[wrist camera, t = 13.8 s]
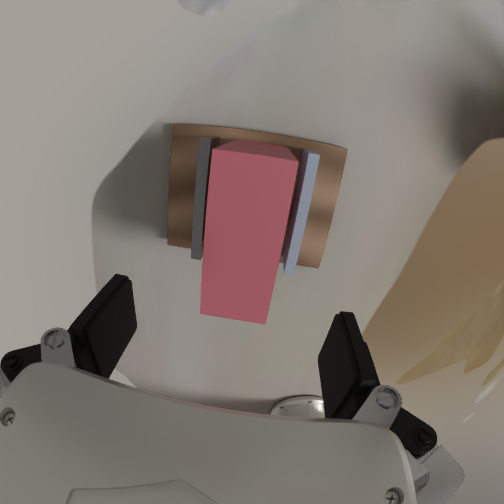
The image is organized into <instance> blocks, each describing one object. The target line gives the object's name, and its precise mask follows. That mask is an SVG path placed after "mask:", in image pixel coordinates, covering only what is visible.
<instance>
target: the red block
mask: <svg viewBox="0 0 504 504" xmlns="http://www.w3.org/2000/svg"><path fill="white" fill-rule="evenodd" d="M298 163H299V161H298V160H297V159H296V157H295V156H294V155H293V154H292V152H291V151H290V150H289V149H288V147H286V146H281V145H275V144H268V143H262V142H255V141H248V140H240V139H236V140H234V141H231V142H229V143H226V144H224V145H221V146H219V147H216V148H214V149H212V158H211V167H210V177H209V187H208V198H207V209H206V221H205V234H204V248H203V265H202V283H201V306H200V314H206V315H211V316H217V317H223V318H229V319H235V320H241V321H248V322H255V323H262V324H265V323H266V319H267V314H268V310H269V305H270V301H271V297H272V292H273V288H274V283H275V278H276V274H277V269H278V264H279V260H280V255H281V250H282V245H283V241H284V236H285V231H286V226H287V221H288V216H289V211H290V206H291V201H292V195H293V190H294V185H295V180H296V174H297V169H298Z"/></svg>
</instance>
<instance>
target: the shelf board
mask: <svg viewBox="0 0 504 504" xmlns="http://www.w3.org/2000/svg"><path fill="white" fill-rule="evenodd" d="M205 136H219V145H218V147H219V146H221V145H224V144H226V143H229V142H231V141H234V140H236V139H240V140H248V141H255V142H262V143H268V144H275V145H281V146H286V147H288V149H289V150H290V151H291V152H292V154H293V155H294V156H295V157H296V159H297V160H298V161H299V163H298V169H297V174H296V180H295V185H294V190H293V195H292V201H291V206H290V211H289V216H288V221H287V226H286V231H285V236H284V241H283V245H282V250H281V255H280V260H279V262H281V263H283V252H284V247H285V242H286V237H287V232H288V228H289V223H290V218H291V213H292V208H293V203H294V198H295V192H296V187H297V182H298V177H299V171H300V166H301V161H302V155H303V149H306V150H311V151H314V152H316V153H317V154H319V155H320V158H319V163H318V169H317V174H316V179H315V183H314V188H313V193H312V198H311V203H310V207H309V212H308V216H307V221H306V225H305V230H304V234H303V238H302V243H301V247H300V251H299V255H298V259H297V263H296V265H300V266H307V267H314V268H319V265H320V262H321V258H322V254H323V251H324V247H325V244H326V240H327V236H328V232H329V228H330V225H331V221H332V217H333V213H334V209H335V204H336V200H337V196H338V192H339V187H340V183H341V179H342V174H343V169H344V165H345V160H346V155H347V150H348V149H346V148H343V147H338V146H334V145H330V144H326V143H321V142H316V141H312V140H307V139H302V138H296V137H291V136H285V135H280V134H273V133H267V132H260V131H253V130H245V129H237V128H228V127H218V126H207V125H193V124H174V127H173V138H172V149H171V162H170V178H169V198H168V245H172V246H178V247H185V248H191V249H192V229H193V212H194V198H195V185H196V173H197V162H198V152H199V143H200V137H205Z"/></svg>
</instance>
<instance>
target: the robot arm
mask: <svg viewBox="0 0 504 504" xmlns="http://www.w3.org/2000/svg"><path fill="white" fill-rule="evenodd" d="M136 329H137V321H136V314H135V306H134V298H133V290H132V282H131V280H129V278H128V276H124V275H120V274H115V275H114V276H113V277H112V278H111V280H110V281H109V282H108V283H107V284H106V285H105V286H104V287H103V288H102V289H101V291H100V292H99V293H98V294H97V295H96V296H95V297H94V299H93V300H92V301H91V302H90V303H89V304H88V306H87V307H86V308H85V309H84V310H83V311H82V313H81V314H80V315H79V316H78V317H77V318H76V320H75V321H74V322H73V323H72V325H71V326H70V328H69V329H68V330H65V329H63V328H52V329H50V330H48V331H46V332H45V333H44V334H43V336H42V338H41V344H37V345H33V346H30V347H26V348H22V349H18V350H14V351H11V352H8V353H7V354H5V355H4V357H3V358H2V360H1V365H0V504H446V502H447V501H448V500H449V499H450V498H451V497H452V496H453V494H454V493H455V492H456V491H457V489H458V488H459V487H460V486H461V484H462V483H463V481H464V477H465V474H464V470H463V469H462V467H461V466H460V465H459V464H458V463H457V461H456V460H455V459H454V458H453V457H452V456H451V455H450V454H449V453H448V451H447V450H446V449H445V448H444V447H443V446H442V445H440V446H438V445H437V435H436V432H435V430H434V429H433V428H432V427H431V426H429V425H427V424H426V423H425V422H423V421H421V420H420V419H418V418H417V417H415V416H414V415H412V414H411V413H409V412H408V411H406V410H405V409H403V408H402V407H401V405H402V397H401V395H400V393H399V392H398V391H397V390H396V389H394V388H393V387H391V386H388V385H380V382H379V379H378V376H377V373H376V370H375V367H374V363H373V360H372V358H371V354H370V352H369V349H368V346H367V344H366V342H364V341H363V338H362V335H361V332H360V330H359V327H358V324H357V321H356V318H355V316H354V314H353V313H352V312H343V311H341V312H340V313H339V314H336V315H335V317H334V320H333V322H332V325H331V327H330V330H329V332H328V335H327V337H326V339H325V342H324V344H323V346H322V349H321V351H320V353H319V356H318V366H319V373H320V381H321V388H322V396H323V398H321V397H316V396H299V397H293V398H289V399H286V400H283V401H281V402H279V403H277V404H276V405H275V406H274V407H273V408H272V410H271V415H269V414H259V413H251V412H244V411H237V410H230V409H224V408H218V407H213V406H207V405H202V404H197V403H192V402H188V401H183V400H179V399H175V398H171V397H167V396H163V395H159V394H155V393H152V392H148V391H145V390H141V389H138V388H134V387H131V386H128V385H125V384H122V383H119V382H116V381H113V380H110V379H109V377H110V375H111V374H112V372H113V370H114V368H115V366H116V364H117V363H118V361H119V359H120V357H121V356H122V354H123V352H124V350H125V348H126V347H127V345H128V343H129V342H130V340H131V338H132V336H133V335H134V333H135V331H136Z"/></svg>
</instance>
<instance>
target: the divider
mask: <svg viewBox="0 0 504 504" xmlns="http://www.w3.org/2000/svg"><path fill="white" fill-rule="evenodd" d="M319 158H320V155H319V154H317V153H316V152H314V151H311V150H306V149H303V155H302V161H301V166H300V171H299V177H298V182H297V187H296V192H295V198H294V203H293V208H292V213H291V218H290V223H289V228H288V232H287V237H286V242H285V247H284V252H283V265H284V273H288V274H294V271H295V267H296V263H297V259H298V255H299V251H300V247H301V243H302V238H303V234H304V230H305V225H306V221H307V216H308V212H309V207H310V203H311V198H312V193H313V188H314V183H315V179H316V174H317V169H318V163H319Z"/></svg>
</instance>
